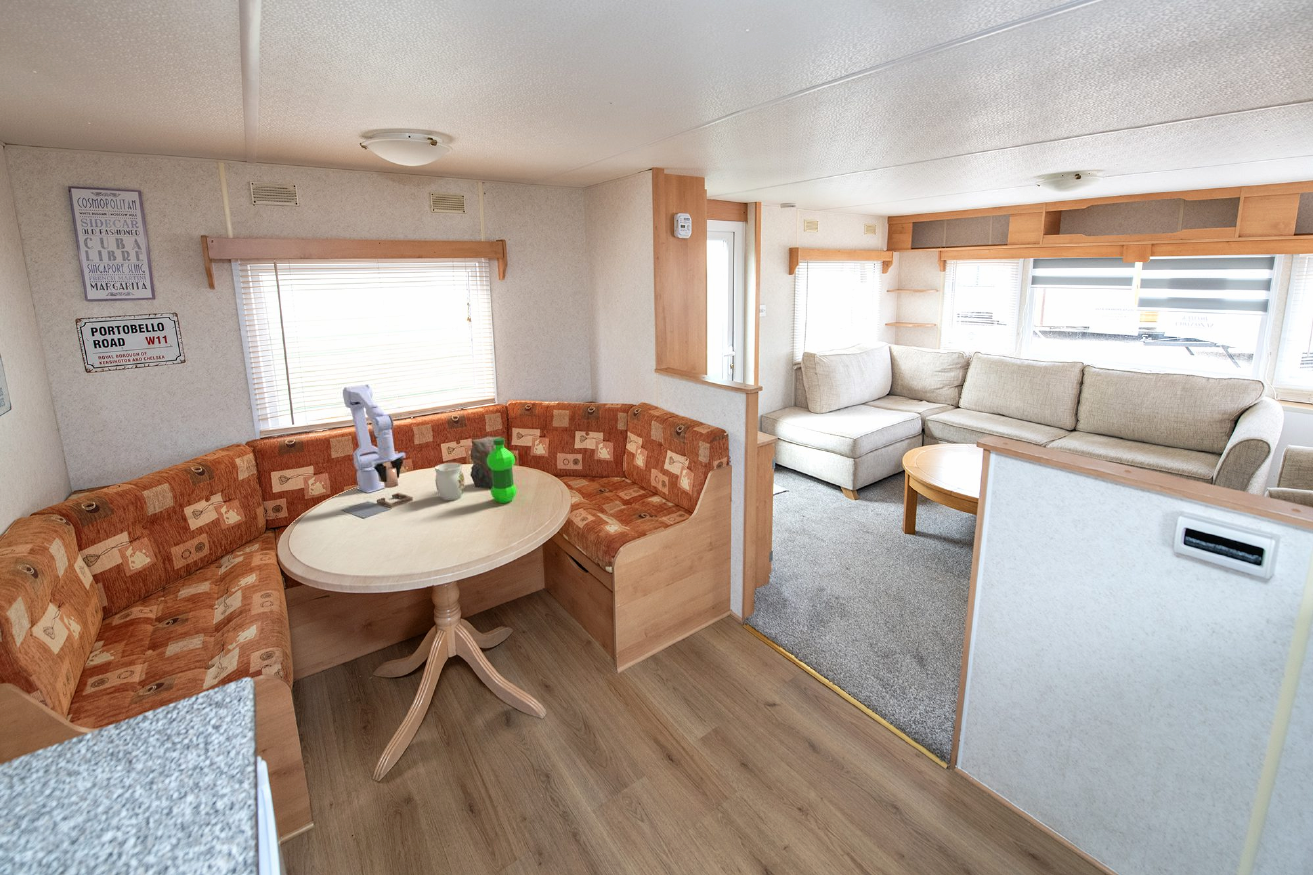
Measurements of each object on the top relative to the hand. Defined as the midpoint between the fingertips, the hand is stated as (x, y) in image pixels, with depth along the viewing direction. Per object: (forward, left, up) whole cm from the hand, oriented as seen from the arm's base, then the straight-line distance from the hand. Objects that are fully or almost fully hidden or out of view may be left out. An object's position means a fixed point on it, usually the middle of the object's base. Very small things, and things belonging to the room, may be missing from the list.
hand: (390, 479), depth 241 cm
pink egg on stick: (-2, 0, -2) cm, 3 cm away
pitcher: (+15, +16, -10) cm, 24 cm away
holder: (0, 0, -9) cm, 9 cm away
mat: (-2, -11, -9) cm, 14 cm away
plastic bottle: (+37, +24, -10) cm, 45 cm away
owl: (+17, +34, -10) cm, 40 cm away
